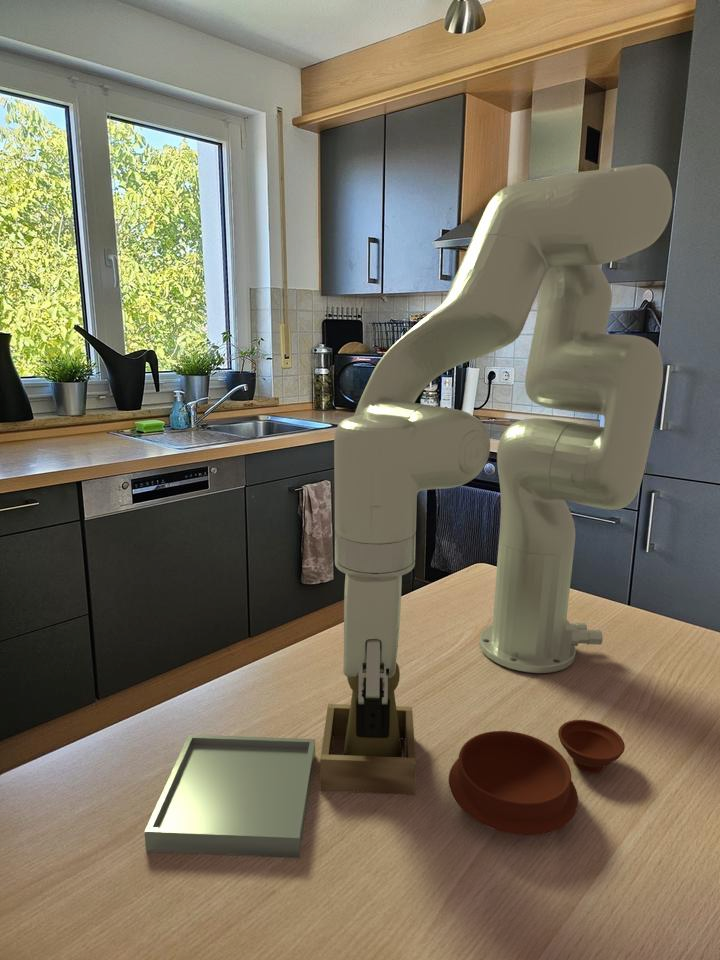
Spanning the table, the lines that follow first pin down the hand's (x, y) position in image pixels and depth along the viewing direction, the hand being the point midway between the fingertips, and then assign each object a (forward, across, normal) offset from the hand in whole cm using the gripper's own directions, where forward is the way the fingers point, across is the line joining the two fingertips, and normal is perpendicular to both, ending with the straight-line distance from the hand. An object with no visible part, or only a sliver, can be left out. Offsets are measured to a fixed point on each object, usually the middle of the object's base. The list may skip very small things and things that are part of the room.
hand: (373, 716), depth 66 cm
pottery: (+5, +3, +16) cm, 18 cm away
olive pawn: (+5, 0, 0) cm, 5 cm away
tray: (+5, +6, -12) cm, 15 cm away
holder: (+5, 0, 0) cm, 5 cm away
